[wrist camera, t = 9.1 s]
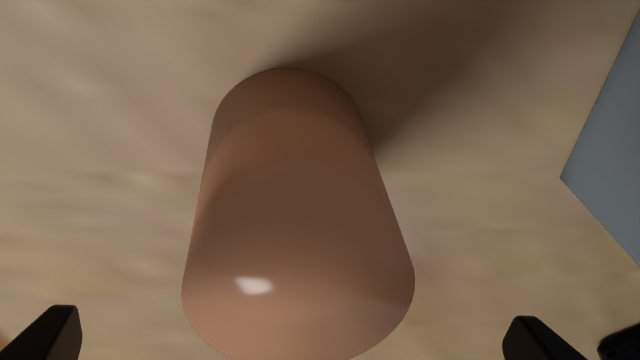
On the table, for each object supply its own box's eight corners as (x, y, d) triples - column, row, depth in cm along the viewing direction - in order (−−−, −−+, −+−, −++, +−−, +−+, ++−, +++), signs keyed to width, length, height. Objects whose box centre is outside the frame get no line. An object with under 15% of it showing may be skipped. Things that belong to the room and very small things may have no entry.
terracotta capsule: (387, 158, 17) (448, 315, 11) (266, 222, 18) (268, 395, 13) (313, 37, 15) (346, 161, 9) (178, 119, 16) (129, 278, 10)
